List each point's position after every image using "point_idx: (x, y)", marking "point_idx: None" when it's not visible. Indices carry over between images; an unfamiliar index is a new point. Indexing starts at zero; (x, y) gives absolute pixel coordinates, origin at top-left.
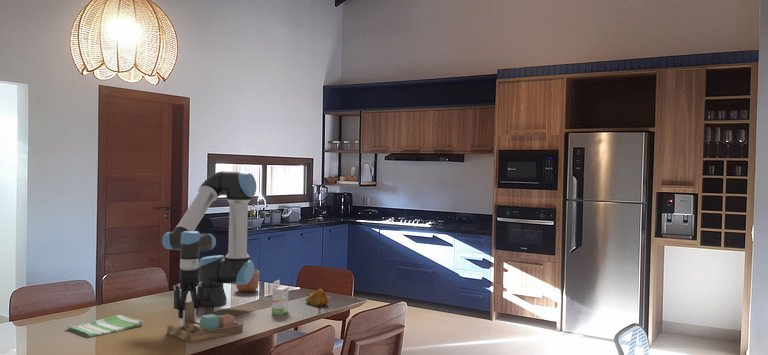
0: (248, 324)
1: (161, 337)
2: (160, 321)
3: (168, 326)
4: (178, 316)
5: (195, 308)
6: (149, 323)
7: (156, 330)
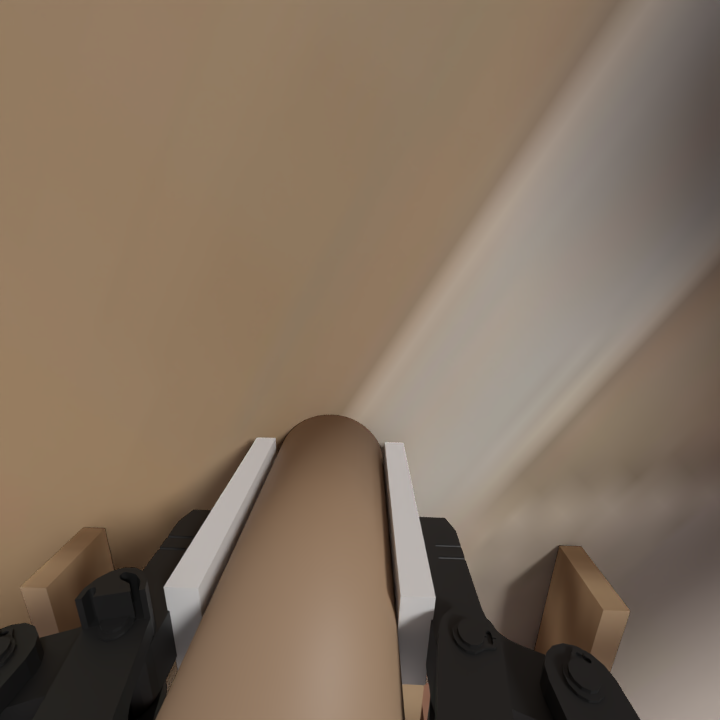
0: (697, 705)
1: (12, 587)
2: (199, 44)
3: (29, 604)
4: (177, 530)
5: (418, 673)
6: (43, 40)
7: (32, 393)
